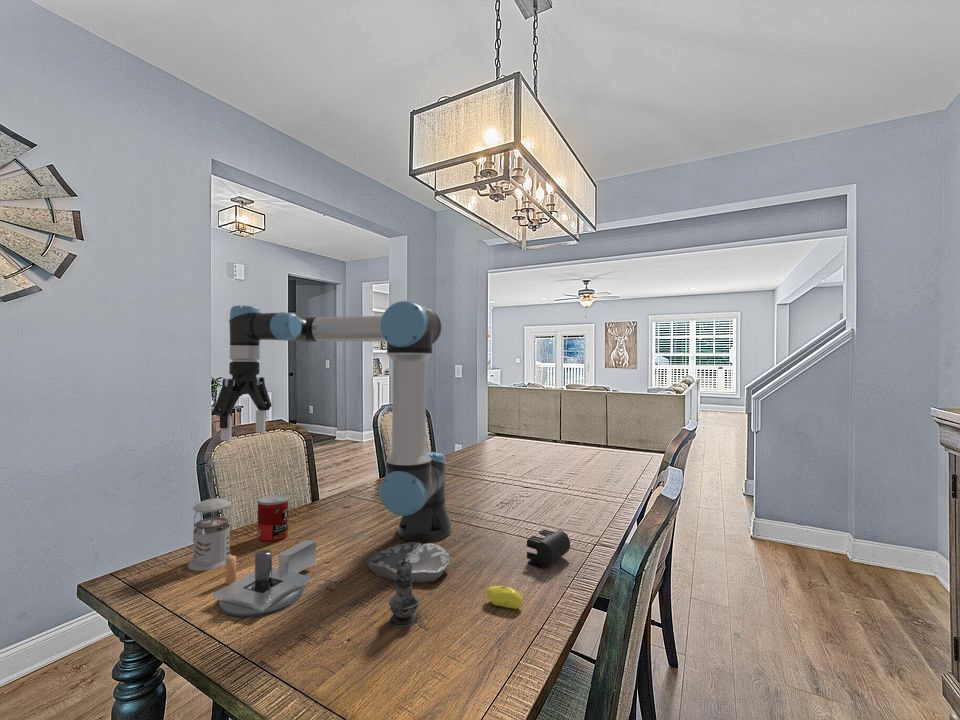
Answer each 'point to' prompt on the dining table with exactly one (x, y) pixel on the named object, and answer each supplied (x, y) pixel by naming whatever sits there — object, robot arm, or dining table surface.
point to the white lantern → (210, 534)
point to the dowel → (230, 569)
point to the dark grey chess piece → (404, 597)
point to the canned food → (272, 518)
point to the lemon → (504, 596)
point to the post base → (268, 610)
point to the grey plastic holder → (273, 579)
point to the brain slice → (411, 561)
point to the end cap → (547, 548)
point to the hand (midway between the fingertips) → (244, 436)
